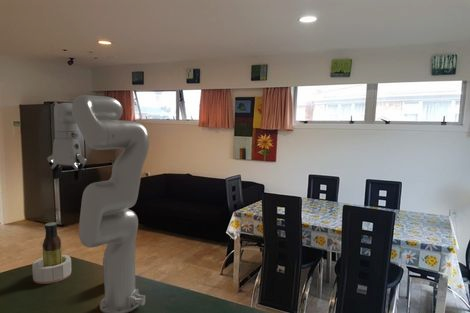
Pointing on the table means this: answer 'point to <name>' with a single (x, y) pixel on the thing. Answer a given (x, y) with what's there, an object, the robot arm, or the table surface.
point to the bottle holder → (51, 271)
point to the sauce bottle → (52, 246)
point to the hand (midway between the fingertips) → (67, 179)
